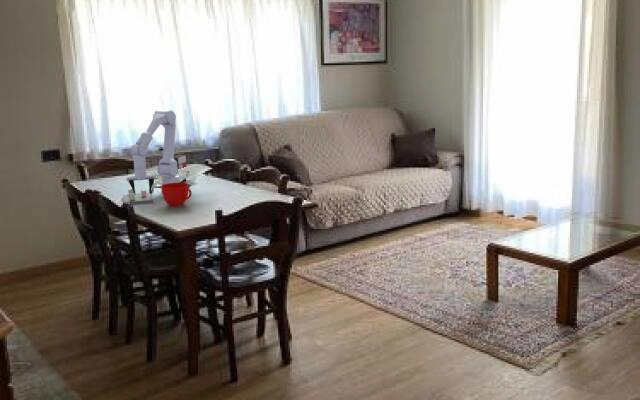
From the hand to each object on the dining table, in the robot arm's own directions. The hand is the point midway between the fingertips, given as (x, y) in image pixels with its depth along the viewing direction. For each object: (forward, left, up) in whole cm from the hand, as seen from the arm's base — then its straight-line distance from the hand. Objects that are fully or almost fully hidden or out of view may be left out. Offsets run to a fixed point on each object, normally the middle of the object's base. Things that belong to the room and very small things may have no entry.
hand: (142, 193), depth 309 cm
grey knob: (+5, -6, -1) cm, 8 cm away
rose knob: (-1, 0, -1) cm, 1 cm away
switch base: (+2, 0, -3) cm, 4 cm away
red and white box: (-25, -43, -3) cm, 49 cm away
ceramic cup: (-16, +21, -3) cm, 27 cm away
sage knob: (+5, +6, -1) cm, 8 cm away
